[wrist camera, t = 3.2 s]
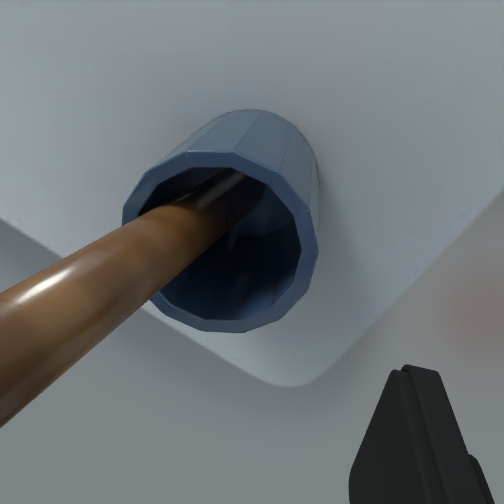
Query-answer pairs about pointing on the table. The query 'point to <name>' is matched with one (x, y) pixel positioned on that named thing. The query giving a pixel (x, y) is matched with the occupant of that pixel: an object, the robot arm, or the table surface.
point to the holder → (241, 223)
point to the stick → (108, 284)
